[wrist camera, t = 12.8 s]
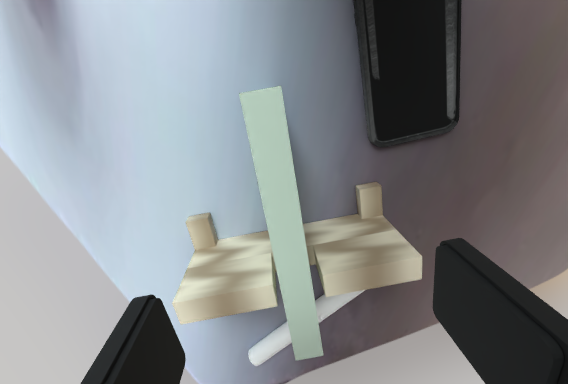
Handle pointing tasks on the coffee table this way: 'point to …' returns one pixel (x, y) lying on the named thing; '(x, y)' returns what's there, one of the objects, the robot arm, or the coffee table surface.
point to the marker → (282, 333)
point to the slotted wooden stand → (321, 252)
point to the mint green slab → (283, 214)
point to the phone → (409, 67)
